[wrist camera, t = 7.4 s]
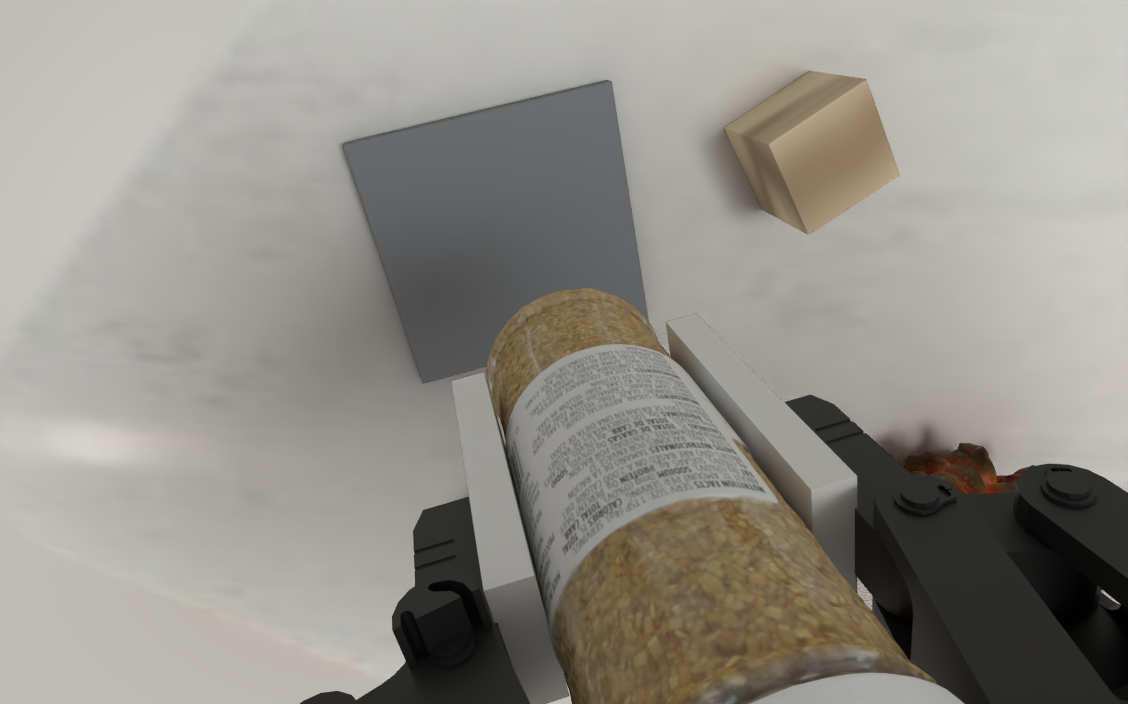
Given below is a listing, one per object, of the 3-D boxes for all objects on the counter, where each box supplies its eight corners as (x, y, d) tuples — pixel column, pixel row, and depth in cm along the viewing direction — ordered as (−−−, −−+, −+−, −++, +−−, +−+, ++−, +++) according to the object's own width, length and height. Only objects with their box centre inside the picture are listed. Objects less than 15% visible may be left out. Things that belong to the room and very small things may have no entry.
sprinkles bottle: (648, 433, 20) (1032, 1076, 8) (482, 447, 19) (635, 1204, 7) (663, 275, 18) (1207, 816, 6) (479, 283, 17) (684, 945, 5)
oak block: (841, 156, 30) (899, 175, 27) (760, 208, 31) (808, 234, 27) (808, 70, 28) (866, 79, 25) (723, 127, 29) (768, 144, 25)
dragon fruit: (822, 426, 38) (945, 472, 44) (806, 590, 36) (937, 615, 42) (986, 422, 31) (1105, 477, 37) (978, 624, 29) (1106, 648, 35)
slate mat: (644, 316, 31) (648, 321, 31) (422, 377, 30) (422, 383, 30) (607, 80, 27) (611, 81, 26) (344, 142, 26) (343, 145, 25)
